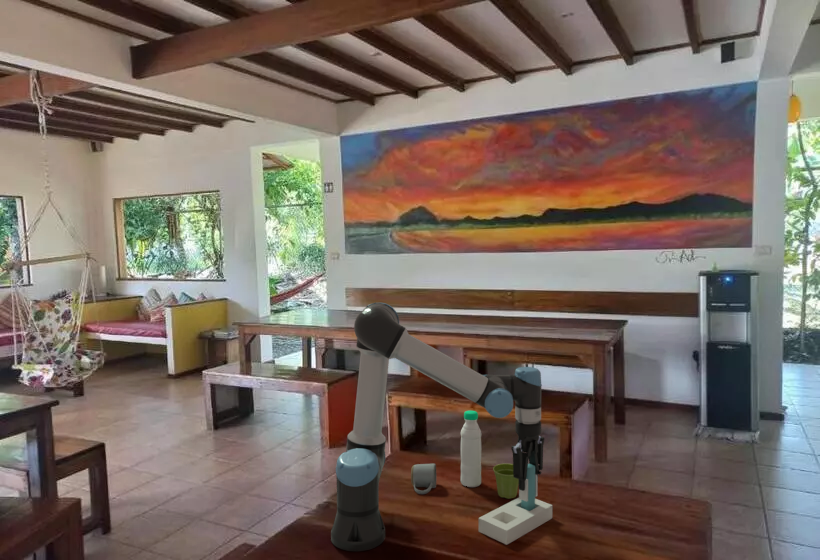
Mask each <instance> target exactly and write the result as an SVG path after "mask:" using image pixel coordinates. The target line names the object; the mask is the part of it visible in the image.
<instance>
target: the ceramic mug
mask: <svg viewBox="0 0 820 560" xmlns="http://www.w3.org/2000/svg"><path fill="white" fill-rule="evenodd" d="M410 471H411V472H410V481H411V485H412V486H413V489H414V491H415V493H416V494H418V495H426V494H428V493H429V492H431V490H432V489H435V488H436V487H437V465H436V463H420V464H419V463H417V464H414V465H412V467H411V470H410ZM418 488H426V489H424V490H420V489H418Z"/></svg>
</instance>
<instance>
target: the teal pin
mask: <svg viewBox="0 0 820 560" xmlns="http://www.w3.org/2000/svg"><path fill="white" fill-rule="evenodd" d="M526 479H528V501H527V502H526V501H523V500H521V508H523V509H525V510H528V511H531V510H533V509H535V499H536V497H535V466H534V465H533V464H529V463H528V468H527V476H526Z"/></svg>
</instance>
